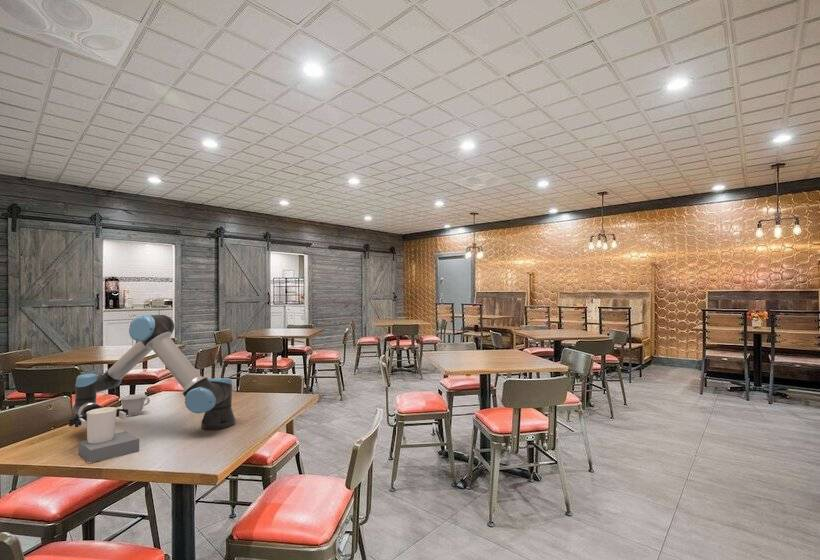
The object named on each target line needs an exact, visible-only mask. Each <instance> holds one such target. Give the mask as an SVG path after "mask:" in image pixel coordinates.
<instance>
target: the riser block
mask: <svg viewBox="0 0 820 560" xmlns="http://www.w3.org/2000/svg"><path fill="white" fill-rule="evenodd" d="M77 450H78V453H77V455H78V454H79V455H78V456H80V457H81V456H82V457H83V458H84V459H83V458H82V457H81V458H82V459H83V460H84V461H86V460H87V461H88V462H90V463H91V462H95V463H97V462H96V461H99V462H101V461H100V460H103V461H106V460H105V459H107V460H110V459H109V458H111V459H113V457H114V458H119V457H122V456H126V455H129V454H133V453H137V452H139V451H140V437H137V436H136V435H134V434H132V433H130V432H128V431H121V432H116V433H114V438H113V439H112V440H110V441H107V442H103V443H98V444H89V443H88V442H87V439H84V440H80V441H78V449H77ZM87 461H86V462H87ZM88 462H87V463H88ZM90 463H89V464H90ZM91 464H92V463H91Z"/></svg>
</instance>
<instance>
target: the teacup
mask: <svg viewBox="0 0 820 560" xmlns="http://www.w3.org/2000/svg"><path fill="white" fill-rule="evenodd" d="M119 399H120V400H121V401H120V402H121V406H122V408H121V409H128V416H127V417H130V416H129V415H136V416H138V415H137V414H139V415H140V412H141V411H143V409H144V407H145V406H147V405H149V404H150V403H151V402H150V401H151V399H150V397H149V396H147V394H146V393H145V394H143V393H139V394H129V395H124V396H121V397H120V398H119ZM146 400H147V401H146ZM145 401H146V403H145Z"/></svg>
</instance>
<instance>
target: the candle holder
mask: <svg viewBox="0 0 820 560" xmlns="http://www.w3.org/2000/svg"><path fill="white" fill-rule="evenodd" d="M117 409H118V408H117V407H114V406H113V407H112V406H111V407H102V408H99V409H94V410H90V411H88V412H87V413H86V414H87V422H86V438H87V439H86V440H87V442H88V443H89V444H98V443H103V442H107V441H110V440H112V439H113V438H114V434H115V429H116V419H117V417H116V412H117Z"/></svg>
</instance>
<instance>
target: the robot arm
mask: <svg viewBox="0 0 820 560" xmlns="http://www.w3.org/2000/svg"><path fill="white" fill-rule="evenodd" d="M174 330H175V323H174V320H173V319H172V318H171V317H170V316H168V315H165V314H143V315H139V316H137V317H135V318H134V319H133V320H132V321H131V322H130V324H129V328H128V333H129V336H130V338H131V339H132V340H134V341H135V342H136V343H135V344H134V345H132V347H130V348H129V349H128V351H126V353H124V354H123V355H122V356H121V357H120V358H118V360H117V361H116V362H115V363H114V364H112V365H111V367H110V368H108V369H107V370H106V371H105V372H104V373H102V374H101V375H97V373H85V374H79V375H77V377H76V378H75V379H76V380H75V386H74V387H75V396H74V399H75V400H74V404H73V406H72V409H71V410H72V413H73V414H74V416H72V417H71V418H70V419H69V420H68V426H69V427H73V426H74V427H75V428H78V427H80V428H82V429H87V414H86V413H87V412H88V411H90V410H94V409H99V408H103V406H101V405H100V404H98V403H97V393H100V392H104V391H108V390H112V389H114V388H117V387H118V386H120V385H121V383H122V381H123V378H124V377H125V376H127V374H129V372H130V371H132V370H133V369H134V367H136V366H137V365H138V364H139V363H140V362H141V361H142V360H144V358H145V357H147V356H148V354H150V353H151V352H152V351H153V353H155V354H156V357H158V359H159V360H161V361H160V362H162V363H163V365H164V366H165V367H166V368H167V370H168V371H169V373H171V375H172V376H173V378H174V379H175V380H176V381H177V383H178V384H179V385H180V386H181V387H182V389H183V391H182V396H184V400H185V401H184V404H185V407H186V408H187V409H188V411H189V412H191V413H194V414H203V413H204V414H203V417H202V420H201V422H200V428H201V430H202V429H203V430H209V431H210V430H212V431H213V430H221V429H225V428H226V427H227V428H230V427H232V426H234V425H235V423H236V417H235V414H234V412H233V409H232V400H233V399H232V398H233V397H232V396H233V380H232V379H231V378H229V377H220V378H218V377H217V378H216V377H215V378H208V377H207V376H202V375H201V374H200V373H199V372H198V371H197V370H196V368H195V366H193V365H192V363H191V362H190V361H189V359H188V358H187V357H186V356H185V354H184V353H183V352H182V351H181V349H180V348H179V346H178V345H177V344H176V343H175V342H174V341H173V339H172V338H171V335H172V334H173V333H174ZM127 415H128V409H123V408H117V412H116V418H119V419H120V420H122V421H126V420H127V417H128V416H127ZM229 426H230V427H229ZM227 428H226V429H227Z"/></svg>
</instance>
